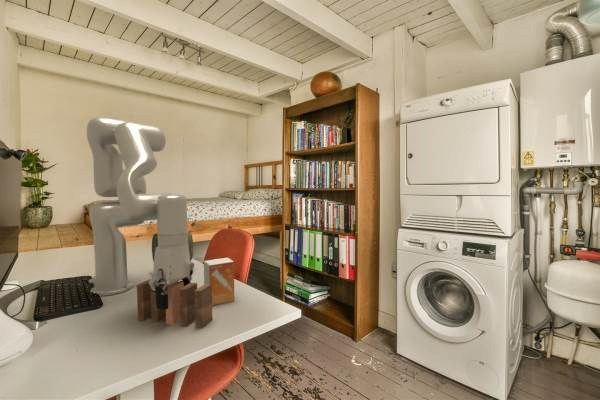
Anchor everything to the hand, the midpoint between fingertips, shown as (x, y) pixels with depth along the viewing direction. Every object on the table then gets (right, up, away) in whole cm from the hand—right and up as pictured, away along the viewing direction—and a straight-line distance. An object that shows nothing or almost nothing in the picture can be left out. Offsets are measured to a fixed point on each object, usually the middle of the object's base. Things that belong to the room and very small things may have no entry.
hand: (174, 301), depth 80 cm
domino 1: (-9, -5, +2) cm, 10 cm away
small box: (+9, -5, +14) cm, 17 cm away
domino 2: (-4, -5, +1) cm, 7 cm away
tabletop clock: (-19, -3, +43) cm, 47 cm away
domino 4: (+4, -5, -1) cm, 7 cm away
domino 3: (0, -5, 0) cm, 5 cm away
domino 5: (+9, -5, -2) cm, 10 cm away
